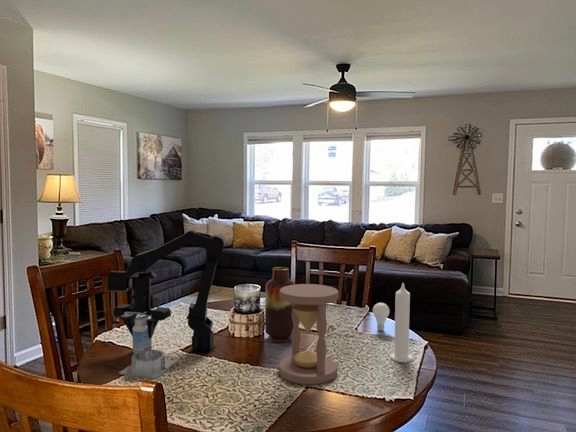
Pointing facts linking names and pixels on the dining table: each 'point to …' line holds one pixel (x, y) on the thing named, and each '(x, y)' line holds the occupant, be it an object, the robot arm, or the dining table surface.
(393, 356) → the candle
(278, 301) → the vase
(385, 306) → the lightbulb
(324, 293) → the hourglass
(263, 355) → the dining table surface
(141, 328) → the pill bottle
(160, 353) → the duct collar
